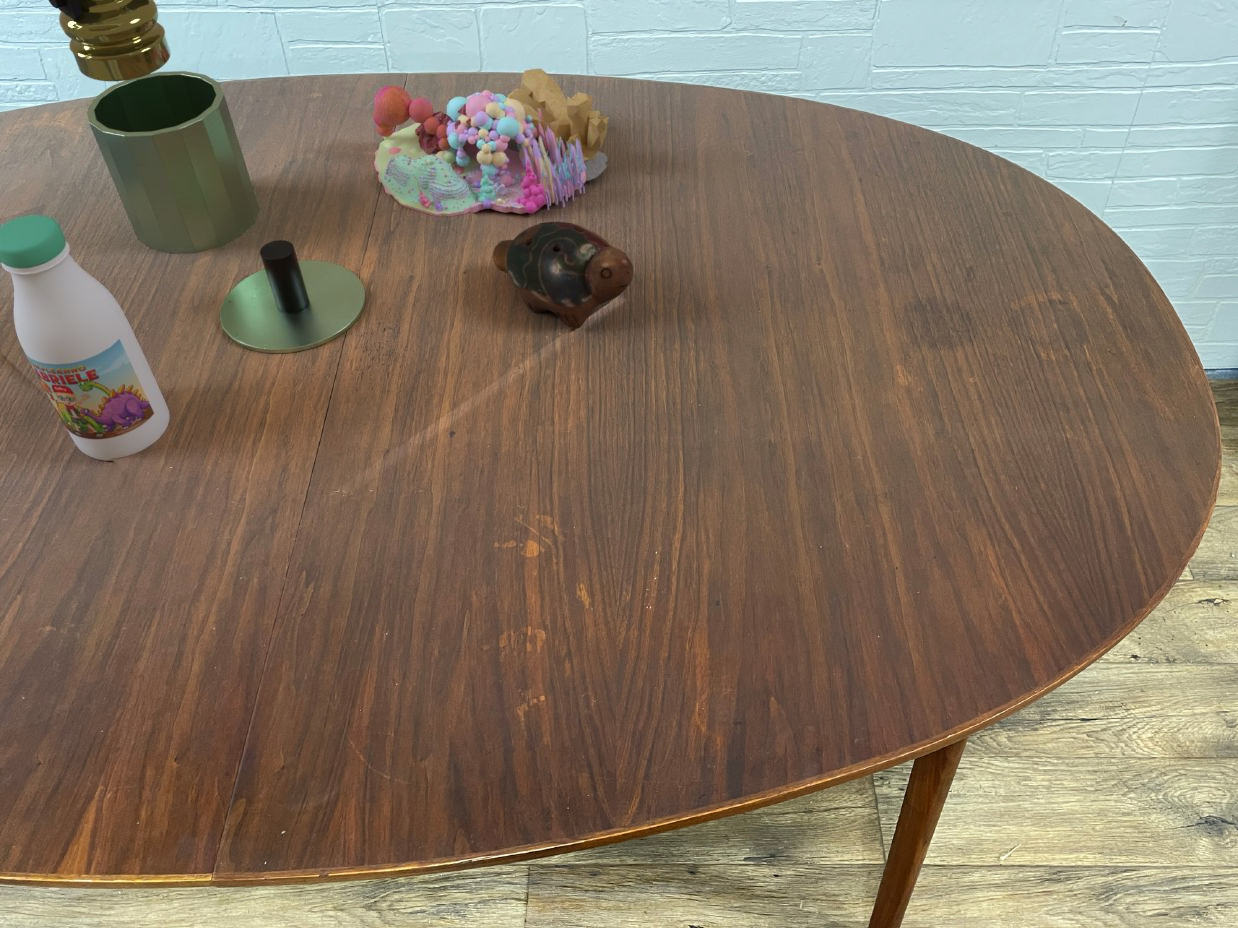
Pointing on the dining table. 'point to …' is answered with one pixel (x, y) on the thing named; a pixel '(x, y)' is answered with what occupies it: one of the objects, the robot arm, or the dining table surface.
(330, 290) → the tin lid
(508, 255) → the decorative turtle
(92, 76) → the gold knobbed round piece
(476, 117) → the candy landscape model
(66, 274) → the milk bottle
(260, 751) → the dining table surface
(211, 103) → the tin
